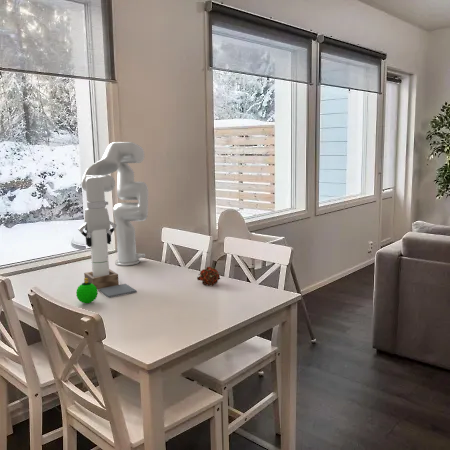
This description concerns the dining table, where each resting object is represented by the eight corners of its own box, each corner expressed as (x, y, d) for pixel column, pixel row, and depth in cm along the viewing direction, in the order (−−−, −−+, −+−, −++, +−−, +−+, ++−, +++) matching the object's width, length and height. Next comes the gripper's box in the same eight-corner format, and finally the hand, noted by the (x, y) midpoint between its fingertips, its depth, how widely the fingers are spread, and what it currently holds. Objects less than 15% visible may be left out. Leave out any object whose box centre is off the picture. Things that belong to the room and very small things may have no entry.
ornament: (76, 307, 183) (74, 282, 181) (77, 300, 190) (75, 276, 189) (98, 305, 185) (96, 280, 183) (98, 298, 192) (96, 274, 191)
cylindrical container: (112, 282, 215) (108, 227, 211) (106, 286, 208) (103, 230, 204) (96, 281, 216) (93, 227, 211) (90, 286, 209) (86, 230, 204)
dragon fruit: (216, 291, 203) (201, 289, 213) (228, 277, 206) (213, 275, 216) (204, 278, 200) (190, 276, 210) (216, 263, 203) (202, 262, 213)
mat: (125, 285, 210) (125, 283, 209) (136, 292, 200) (136, 290, 200) (99, 290, 203) (98, 288, 203) (108, 297, 193) (108, 295, 193)
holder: (109, 279, 220) (108, 268, 219) (118, 285, 210) (118, 274, 209) (85, 283, 213) (84, 272, 212) (93, 289, 204) (92, 278, 203)
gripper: (112, 202, 213) (114, 240, 216) (73, 206, 204) (76, 246, 207) (118, 204, 207) (121, 243, 210) (78, 208, 198) (81, 249, 201)
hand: (98, 244), depth 209 cm, fingers open, 8 cm apart
